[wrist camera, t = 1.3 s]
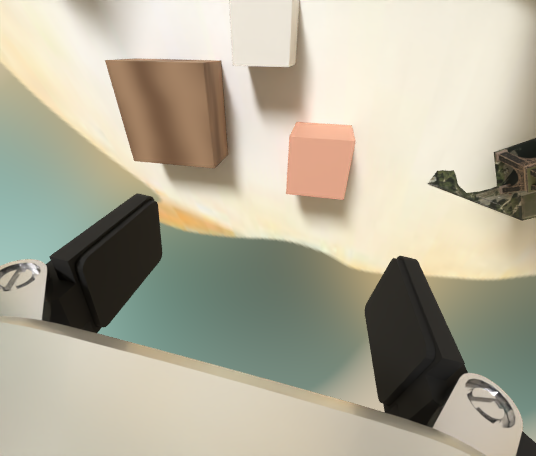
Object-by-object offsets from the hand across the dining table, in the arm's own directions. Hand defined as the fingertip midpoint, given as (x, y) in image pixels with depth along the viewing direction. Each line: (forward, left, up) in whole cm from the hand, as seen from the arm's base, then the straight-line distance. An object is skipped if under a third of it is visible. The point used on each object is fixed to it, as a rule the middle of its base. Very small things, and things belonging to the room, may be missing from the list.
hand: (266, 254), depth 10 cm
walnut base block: (+15, -1, -23) cm, 28 cm away
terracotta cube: (-2, +3, -23) cm, 23 cm away
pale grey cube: (+4, -8, -23) cm, 25 cm away
